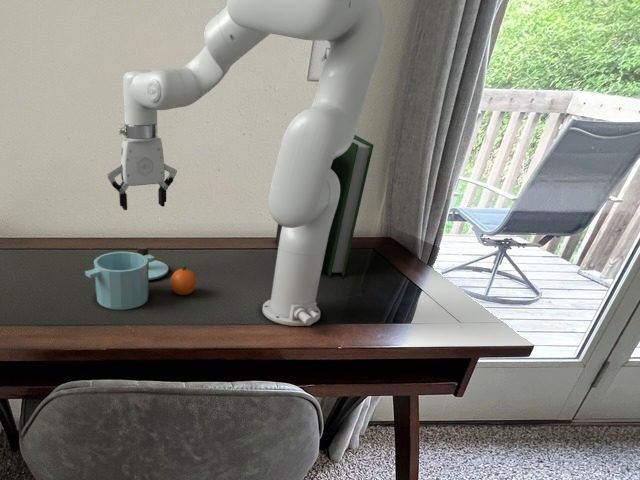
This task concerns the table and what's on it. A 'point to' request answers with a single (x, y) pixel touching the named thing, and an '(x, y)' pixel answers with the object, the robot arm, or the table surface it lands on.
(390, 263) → the table surface
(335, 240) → the green and black books
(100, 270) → the pot
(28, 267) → the table surface
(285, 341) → the table surface
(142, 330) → the table surface
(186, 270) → the orange
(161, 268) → the pot lid
